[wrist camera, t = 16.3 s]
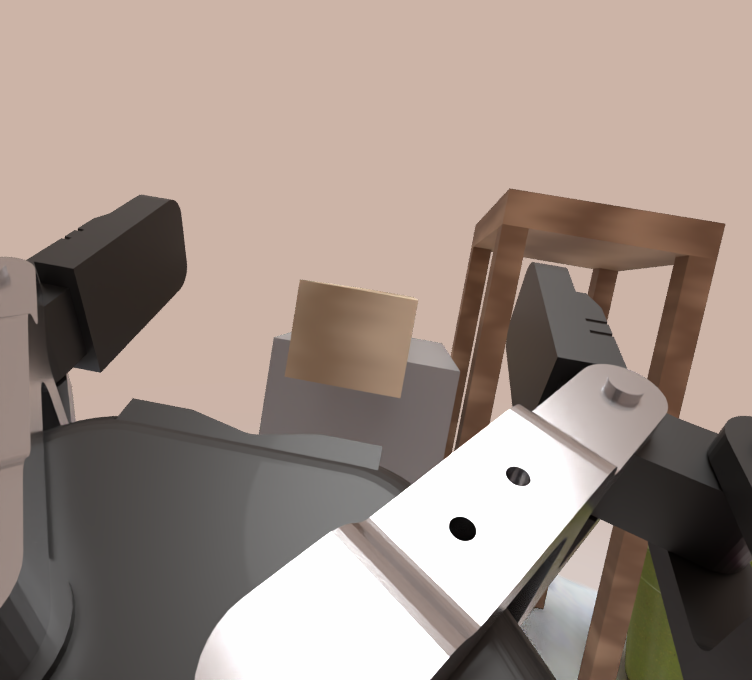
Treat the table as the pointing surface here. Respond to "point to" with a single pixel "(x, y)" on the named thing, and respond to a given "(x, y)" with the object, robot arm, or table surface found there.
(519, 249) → the walnut stool
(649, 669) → the plant pot
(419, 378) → the grey rectangular block
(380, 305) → the birch bar
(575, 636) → the table surface
